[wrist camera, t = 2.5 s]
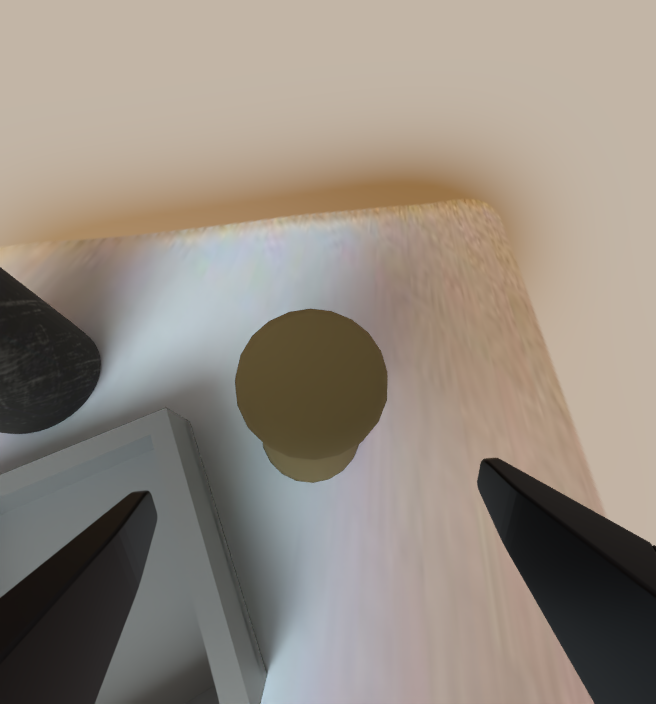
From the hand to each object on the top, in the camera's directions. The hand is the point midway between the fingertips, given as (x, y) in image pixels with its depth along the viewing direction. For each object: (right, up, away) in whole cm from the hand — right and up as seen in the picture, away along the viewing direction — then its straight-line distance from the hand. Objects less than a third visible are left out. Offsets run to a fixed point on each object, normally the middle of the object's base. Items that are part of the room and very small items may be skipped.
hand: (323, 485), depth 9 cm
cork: (-1, -1, +11) cm, 11 cm away
